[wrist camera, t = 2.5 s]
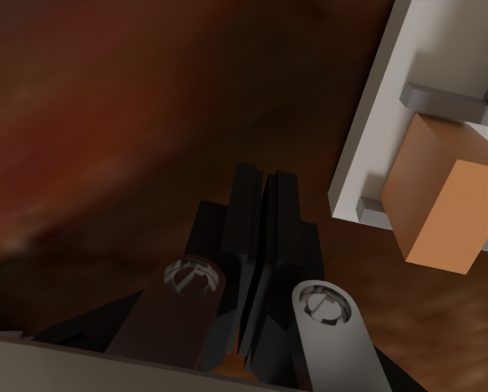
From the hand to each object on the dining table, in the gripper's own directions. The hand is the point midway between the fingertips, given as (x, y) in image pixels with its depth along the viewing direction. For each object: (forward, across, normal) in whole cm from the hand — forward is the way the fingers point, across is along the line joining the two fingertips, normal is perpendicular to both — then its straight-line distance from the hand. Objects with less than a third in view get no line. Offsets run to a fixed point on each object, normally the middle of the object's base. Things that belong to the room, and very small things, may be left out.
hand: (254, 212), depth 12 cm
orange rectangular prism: (+8, -8, +1) cm, 11 cm away
